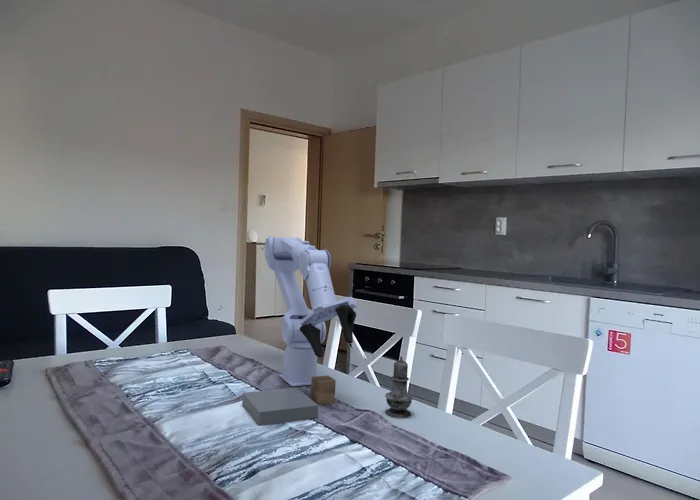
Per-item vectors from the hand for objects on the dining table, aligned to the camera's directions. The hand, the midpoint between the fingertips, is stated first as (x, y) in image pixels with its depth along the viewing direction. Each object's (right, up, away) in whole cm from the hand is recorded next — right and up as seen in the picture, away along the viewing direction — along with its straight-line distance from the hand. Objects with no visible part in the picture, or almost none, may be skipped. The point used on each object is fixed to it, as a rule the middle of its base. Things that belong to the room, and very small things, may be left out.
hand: (334, 349), depth 103 cm
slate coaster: (-11, -12, -4) cm, 17 cm away
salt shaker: (+13, -13, -2) cm, 19 cm away
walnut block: (-3, -12, +4) cm, 13 cm away
